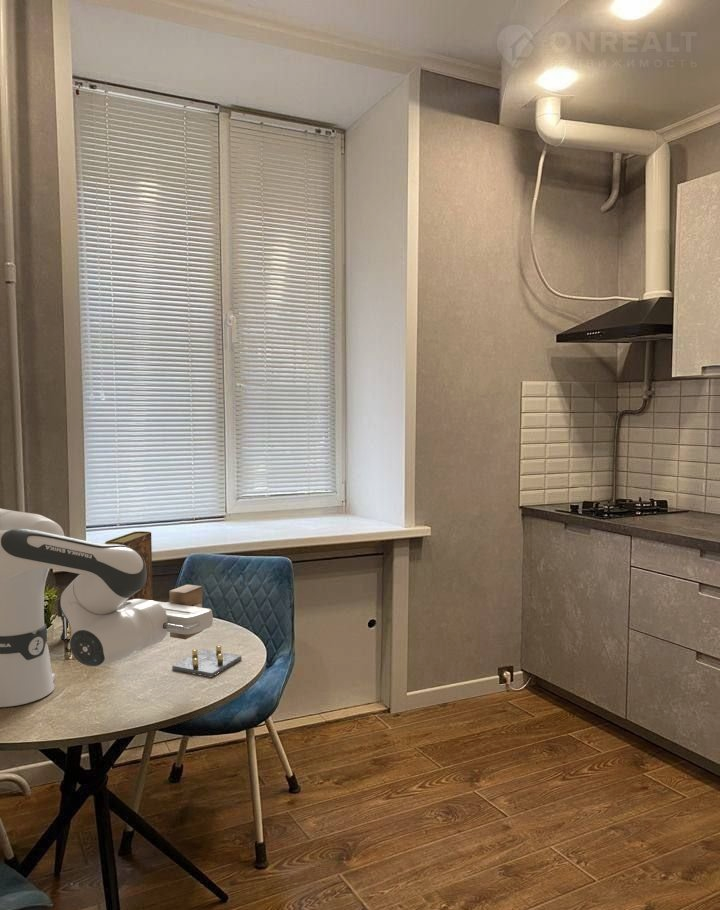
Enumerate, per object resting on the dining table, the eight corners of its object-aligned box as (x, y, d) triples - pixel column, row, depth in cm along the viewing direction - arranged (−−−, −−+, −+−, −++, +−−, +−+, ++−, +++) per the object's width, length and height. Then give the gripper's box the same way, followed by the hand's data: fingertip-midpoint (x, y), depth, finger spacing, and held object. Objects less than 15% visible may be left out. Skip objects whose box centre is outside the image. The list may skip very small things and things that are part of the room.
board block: (170, 637, 148) (169, 590, 147) (187, 628, 153) (187, 584, 153) (185, 639, 146) (184, 592, 146) (202, 631, 152) (202, 586, 151)
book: (137, 615, 202) (136, 531, 200) (154, 617, 201) (153, 531, 199) (106, 633, 186) (104, 541, 184) (124, 635, 185) (123, 542, 183)
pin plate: (172, 669, 161) (172, 657, 161) (203, 653, 172) (203, 641, 172) (211, 677, 157) (211, 664, 156) (241, 659, 168) (241, 647, 167)
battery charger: (73, 631, 188) (72, 590, 187) (85, 633, 187) (84, 591, 186) (55, 640, 181) (54, 597, 180) (68, 641, 180) (67, 598, 179)
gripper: (188, 614, 133) (229, 596, 146) (105, 602, 141) (151, 586, 154) (188, 646, 134) (229, 626, 146) (106, 632, 142) (151, 614, 154)
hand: (188, 605), depth 150 cm, fingers closed on board block, 4 cm apart
